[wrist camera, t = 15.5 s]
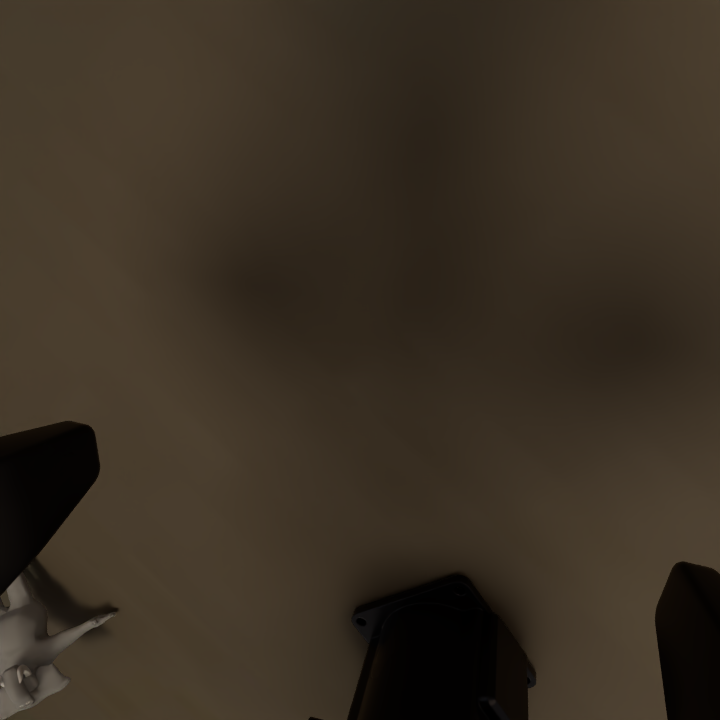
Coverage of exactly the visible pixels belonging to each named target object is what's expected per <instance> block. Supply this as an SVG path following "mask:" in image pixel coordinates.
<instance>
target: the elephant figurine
mask: <svg viewBox="0 0 720 720" xmlns="http://www.w3.org/2000/svg"><path fill="white" fill-rule="evenodd" d="M7 593H8V596H9V600H10V607H4V605H3V603H2V600H1V598H0V685H1V686H2V688H1V689H0V720H4V719H6V718H8V717H10V716H11V715H13V714H14V713H16V712H18V711H21V710H24V709H29V708H31V707H33V706H35V705H37V704H38V703H39V702H41V701H42V700H43V699H44V698H45V697H47V696H49V695H51V694H54V693H56V692H58V691H60V690H62V689H63V688H64V687H65V686H67V684H68V683H69V682H70V680H71V679H70V677H66V676H64V675H62V674H61V672H60V671H59V670H58V668H57V667H56V666H55V665H54V664H53V663H52V662H53V661H54V659H55V658H56V657H57V656H58V654H59V653H61V652H62V651H63V650H64V649H66V648H67V647H68V646H70V645H71V644H72V643H73V642H74V641H76V640H77V639H78V638H79V637H80V636H82V635H83V634H84V633H85V632H87V631H88V630H90V629H91V628H94V627H97V626H99V625H101V624H103V623H104V622H105V621H107V620H108V619H109V618H111V617H113V616H115V615H116V612H111V613H109V614H106V615H99V616H96V617H94V618H92V619H90V620H88V621H86V622H85V623H83V624H81V625H79V626H76V627H73V628H70V629H67V630H64V631H62V632H59V633H57V634H55V635H53V636H49V635H48V633H47V610H46V608H45V606H44V605H43V604H42V603H40V602H39V601H37V600H35V599H34V598H33V597H32V593H31V590H30V588H29V585H28V583H27V581H26V578H25V576H24V573H23V572H22V573H21V574H20V575H19V576H18V577H17V579H16V580H15V581H14V582H13V583H12V584H11V585H10V586H9V587H8V588H7Z"/></svg>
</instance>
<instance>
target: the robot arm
mask: <svg viewBox="0 0 720 720" xmlns="http://www.w3.org/2000/svg"><path fill="white" fill-rule="evenodd" d="M99 471H100V462H99V455H98V449H97V443H96V437H95V432H94V430H93V429H92V427H90V426H89V425H86V424H81V423H77V422H72V421H64V422H60V423H56V424H52V425H47V426H43V427H39V428H35V429H31V430H27V431H22V432H18V433H14V434H10V435H6V436H2V437H0V596H1V595H2V594H3V593H4V592H5V590H6V589H7V588H8V587H9V586H10V585H11V584H12V583H13V582H14V581H15V580H16V579H17V577H18V576H19V575H20V574H21V573H22V572H23V571H24V570H25V569H26V568H27V567H28V565H29V564H30V563H31V562H32V561H33V560H34V559H35V558H36V556H37V555H38V554H39V553H40V552H41V550H42V549H43V548H44V547H45V545H46V544H47V543H48V542H49V540H50V539H51V538H52V536H53V535H54V534H55V533H56V531H57V530H58V529H59V527H60V526H61V525H62V524H63V522H64V521H65V520H66V518H67V517H68V516H69V515H70V513H71V512H72V511H73V509H74V508H75V507H76V506H77V504H78V503H79V502H80V500H81V499H82V498H83V496H84V495H85V494H86V493H87V491H88V490H89V489H90V487H91V486H92V485H93V484H94V482H95V481H96V479H97V477H98V475H99ZM457 586H460V587H463V588H461V589H460V588H458V587H457ZM362 618H363V619H362ZM352 623H353V625H354V626H355V627H356V628H357V630H358V631H359V632H360V634H361V635H362V636H363V637H364V639H365V640H366V641H367V642H368V644H369V646H368V650H367V653H366V657H365V660H364V663H363V667H362V670H361V674H360V677H359V680H358V684H357V687H356V691H355V694H354V698H353V701H352V704H351V708H350V711H349V715H348V718H347V720H528V688H531V687H533V686H534V685H535V684H536V672H535V670H534V669H533V667H532V666H531V664H530V663H529V662H528V660H527V655H526V653H525V652H524V650H523V649H522V648H521V646H520V645H519V643H518V642H517V641H516V639H515V638H514V636H513V635H512V634H511V632H510V631H509V630H508V628H507V627H506V625H505V624H504V623H503V621H502V620H501V618H500V617H499V616H498V615H497V614H495V613H494V612H492V610H491V609H490V608H489V606H488V605H487V603H486V602H485V601H484V599H483V598H482V596H481V595H480V594H479V592H478V591H477V590H476V588H475V587H474V585H473V584H472V583H471V581H470V580H469V579H468V578H466V577H464V576H461V575H456V576H452V577H449V578H446V579H443V580H440V581H437V582H434V583H431V584H428V585H425V586H422V587H419V588H416V589H413V590H410V591H407V592H404V593H401V594H398V595H395V596H392V597H389V598H386V599H383V600H380V601H377V602H374V603H371V604H368V605H365V606H362V607H359V608H357V609H355V611H354V613H353V616H352ZM655 626H656V634H657V641H658V649H659V657H660V665H661V672H662V680H663V688H664V695H665V703H666V711H667V719H668V720H720V574H719V573H718V572H717V571H716V570H714V569H712V568H709V567H705V566H701V565H696V564H692V563H688V562H678V563H676V564H675V565H674V567H673V568H672V570H671V572H670V575H669V577H668V580H667V582H666V585H665V587H664V590H663V592H662V594H661V597H660V599H659V602H658V604H657V608H656V614H655ZM309 720H322V719H318V718H314V717H310V718H309Z"/></svg>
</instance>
